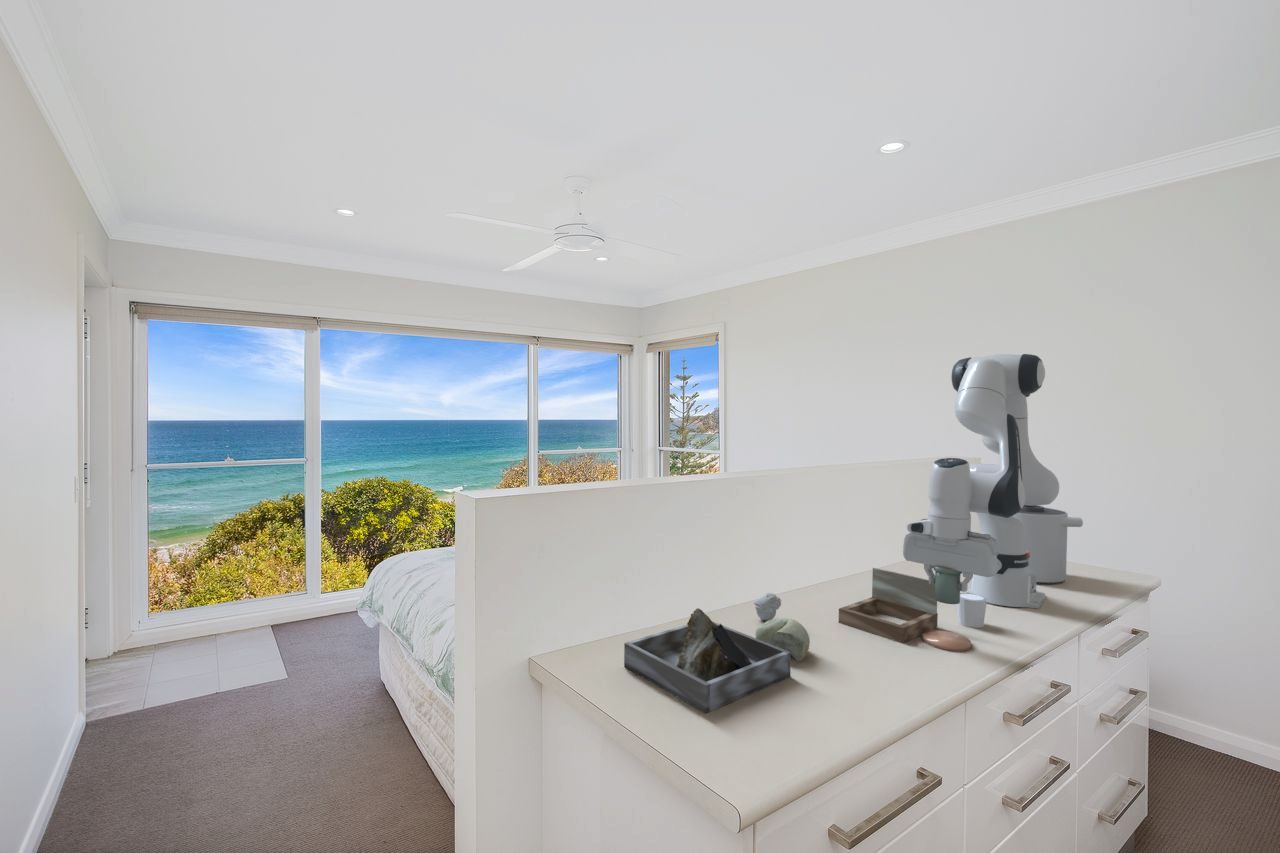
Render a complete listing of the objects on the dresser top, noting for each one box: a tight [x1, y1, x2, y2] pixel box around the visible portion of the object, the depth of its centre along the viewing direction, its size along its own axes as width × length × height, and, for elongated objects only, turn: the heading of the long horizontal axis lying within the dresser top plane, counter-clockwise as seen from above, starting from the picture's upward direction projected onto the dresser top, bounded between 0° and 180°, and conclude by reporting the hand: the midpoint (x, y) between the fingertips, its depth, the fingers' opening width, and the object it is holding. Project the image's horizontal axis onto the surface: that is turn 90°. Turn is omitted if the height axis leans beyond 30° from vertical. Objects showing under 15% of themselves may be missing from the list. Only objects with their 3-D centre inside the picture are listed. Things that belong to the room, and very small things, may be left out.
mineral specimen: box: [676, 607, 752, 682], centre depth 119 cm, size 14×15×17 cm
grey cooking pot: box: [1013, 505, 1084, 585], centre depth 196 cm, size 22×21×23 cm
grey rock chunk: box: [753, 592, 782, 622], centre depth 152 cm, size 6×7×7 cm
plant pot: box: [933, 566, 963, 605], centre depth 137 cm, size 6×6×8 cm
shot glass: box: [956, 592, 988, 629], centre depth 151 cm, size 7×7×7 cm
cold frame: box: [838, 567, 939, 644], centre depth 149 cm, size 17×17×12 cm
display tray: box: [623, 620, 792, 714], centre depth 121 cm, size 24×24×5 cm
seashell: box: [754, 617, 811, 662], centre depth 132 cm, size 13×8×10 cm
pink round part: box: [922, 629, 972, 652], centre depth 138 cm, size 10×10×1 cm
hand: (947, 587), depth 138 cm, fingers closed on plant pot, 5 cm apart
